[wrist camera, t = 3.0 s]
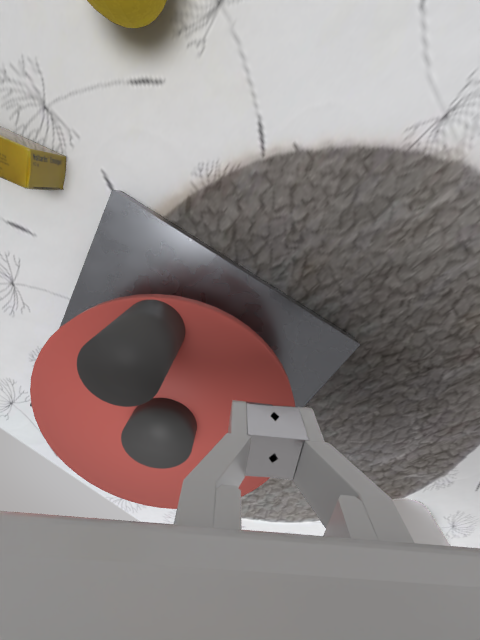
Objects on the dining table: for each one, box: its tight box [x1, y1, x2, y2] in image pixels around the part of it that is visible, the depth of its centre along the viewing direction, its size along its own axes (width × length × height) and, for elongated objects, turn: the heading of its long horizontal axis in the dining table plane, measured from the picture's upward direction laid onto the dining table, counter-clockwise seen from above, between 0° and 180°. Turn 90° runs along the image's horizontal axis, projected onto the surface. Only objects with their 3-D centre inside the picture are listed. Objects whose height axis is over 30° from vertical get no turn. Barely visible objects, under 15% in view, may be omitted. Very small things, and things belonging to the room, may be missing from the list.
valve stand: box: [30, 190, 360, 407], centre depth 24 cm, size 24×24×6 cm
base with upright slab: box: [392, 498, 450, 546], centre depth 30 cm, size 9×9×12 cm
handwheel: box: [30, 294, 295, 509], centre depth 18 cm, size 20×20×6 cm
